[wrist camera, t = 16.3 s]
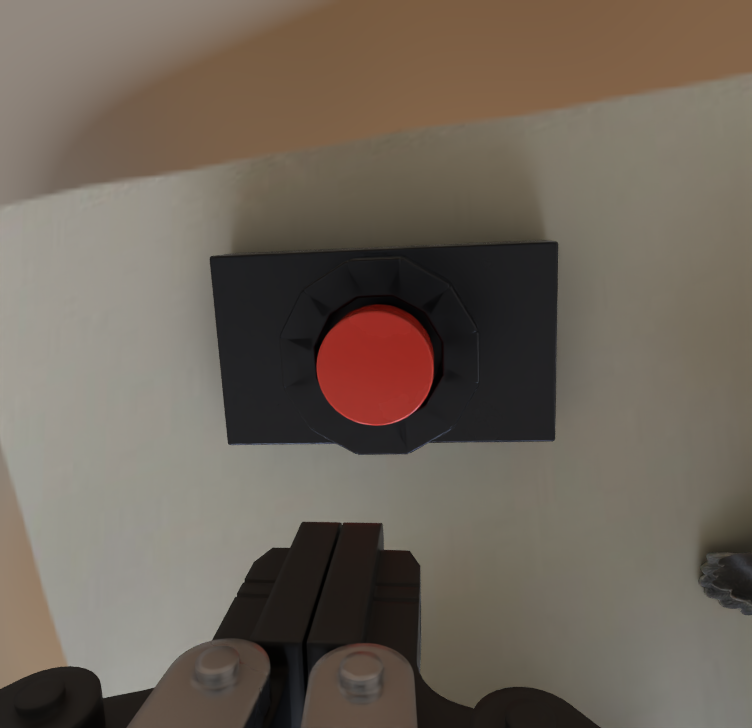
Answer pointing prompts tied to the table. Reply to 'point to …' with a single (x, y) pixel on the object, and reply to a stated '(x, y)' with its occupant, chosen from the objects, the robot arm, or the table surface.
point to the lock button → (376, 365)
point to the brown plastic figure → (729, 579)
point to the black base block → (423, 301)
